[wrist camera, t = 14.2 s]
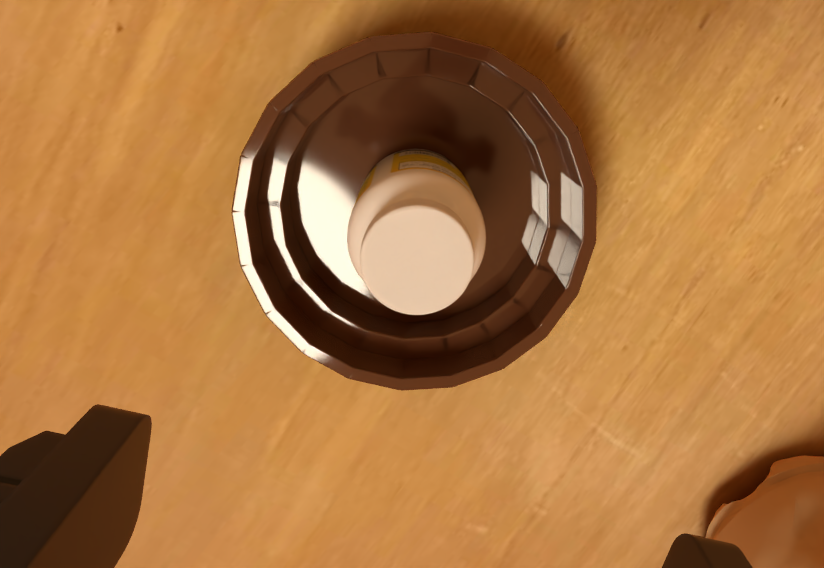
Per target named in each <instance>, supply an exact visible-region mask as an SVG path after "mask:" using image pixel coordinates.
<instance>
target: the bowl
mask: <svg viewBox="0 0 824 568" xmlns="http://www.w3.org/2000/svg"><path fill="white" fill-rule="evenodd" d="M407 149H424V150H429V151H433V152H435V153H438V154H440V155H442V156H444V157H446V158H447V159H448V160H450V161H451V162H452V163H453V164H454V165H455V166H456V167H457V168H458V169H459V170H460V171H461V173H462V174H463V175H464V177H465V178H466V180H467V182H468V184H469V186H470V189H471V191H472V193H473V195H474V197H475V199H476V202H477V204H478V206H479V208H480V210H481V213H482V216H483V219H484V224H485V230H486V245H485V251H484V256H483V259H482V262H481V264H480V267H479V268H478V270H477V272H476V274H475V275H474V277H473V278H472V279H471V281H470V282H469V284H468V286H467V288H466V289H465V291H464V292H463V293H462V295H461V296H460V297H459V298H458V299H457V300H456V301H455V302H453V303H452V304H451V305H449V306H448V307H446V308H444V309H442V310H439V311H437V312H434V313H430V314H425V315H409V314H404V313H400V312H397V311H394V310H392V309H390V308H388V307H386V306H385V305H383V304H382V303H381V302H379V301H378V300H377V299H376V298H375V297H374V296H373V295H372V293H371V292H370V291H369V289H368V288H367V286H366V284H365V282H364V281H363V280H362V279H361V277H360V276H359V275H358V273H357V272H356V270H355V268H354V266H353V264H352V261H351V258H350V255H349V251H348V244H347V231H348V224H349V219H350V216H351V212H352V210H353V207H354V205H355V202H356V200H357V197H358V195H359V192H360V190H361V187H362V185H363V182H364V180H365V179H366V177H367V175H368V174H369V172H370V171H371V170H372V169H373V167H374V166H375V165H376V164H377V163H379V162H380V161H381V160H382V159H384V158H385V157H387V156H389V155H391V154H393V153H396V152H398V151H402V150H407ZM241 154H242V155H241V156H240V162H239V168H238V174H237V180H236V186H235V192H234V198H233V205H232V218H233V224H234V230H235V236H236V243H237V249H238V255H239V261H240V265H241V268H242V270H243V272H244V274H245V276H246V278H247V280H248V282H249V284H250V286H251V288H252V290H253V292H254V294H255V296H256V298H257V300H258V302H259V304H260V306H261V308H262V309H263V311H264V313H265V314H266V316H267V317H268V318H269V319H270V320H271V321H272V322H273V323H274V324H275V325H276V326H277V327H278V328H279V329H280V330H281V331H282V333H283V334H284V335H285V336H286V337H287V338H288V339H289V340H290V341H291V342H292V343H293V344H294V345H295V346H296V347H297V348H298V349H299V350H300V351H301V352H303V354H305V355H307V356H308V357H310V358H312V359H314V360H316V361H317V362H319V363H321V364H323V365H325V366H326V367H328V368H330V369H332V370H334V371H335V372H337V373H339V374H341V375H343V376H344V377H346V378H348V379H352V380H357V381H361V382H366V383H370V384H375V385H379V386H383V387H388V388H392V389H397V390H416V389H432V388H448V387H455V386H457V385H460V384H463V383H466V382H469V381H471V380H474V379H477V378H480V377H482V376H485V375H488V374H491V373H494V372H496V371H499V370H502V368H503V369H504V368H505V367H506V366H508V365H509V364H511V363H512V362H513V361H515V360H516V359H517V358H519V357H520V356H521V355H523V354H524V353H525V352H527V351H528V350H530V349H531V348H532V347H534V346H535V345H536V344H538V343H539V342H540V341H542V340H543V339H544V338H545V337H547V335H548V334H549V333H550V331H551V330H552V329H553V327H554V326H555V325H556V323H557V322H558V321H559V319H560V318H561V316H562V315H563V314H564V312H565V311H566V310H567V308H568V307H569V306H570V304H571V303H572V302H573V300H574V299H575V298H576V296H577V295H578V293H579V290H580V287H581V284H582V281H583V278H584V275H585V272H586V270H587V267H588V264H589V261H590V258H591V255H592V252H593V249H594V246H595V243H596V242H595V241H596V210H597V186H596V181H595V178H594V175H593V172H592V169H591V166H590V163H589V160H588V157H587V154H586V150H585V147H584V144H583V141H582V138H581V135H580V132H579V130H578V128H577V126H576V125H575V124H574V122H573V121H572V120H571V118H570V117H569V116H568V115H567V113H566V112H565V111H564V109H563V108H562V107H561V105H560V104H559V103H558V101H557V100H556V99H555V97H554V96H553V95H552V93H551V92H550V91H549V89H548V88H547V87H546V85H545V84H544V83H543V82H542V81H541V80H540V79H538V78H537V77H535V76H534V75H532V74H531V73H529V72H528V71H526V70H525V69H523V68H522V67H520V66H519V65H517V64H516V63H514V62H513V61H511V60H510V59H508V58H507V57H505V56H504V55H502V54H501V53H499V52H498V51H496V50H495V49H493V48H491V47H488V46H484V45H481V44H477V43H473V42H469V41H465V40H461V39H458V38H454V37H450V36H446V35H442V34H439V33H435V32H432V33H431V32H420V33H408V34H395V35H383V36H371V37H370V38H369V37H367V38H365V39H362V40H360V41H358V42H356V43H353V44H351V45H349V46H347V47H344V48H342V49H340V50H337V51H335V52H333V53H331V54H328V55H326V56H324V57H322V58H319V59H317V60H315V61H314V62H312V63H310V64H309V65H308V66H307V67H306V68H305V69H304V70H303V71H302V72H301V73H300V74H299V75H297V76H296V77H295V78H294V79H293V80H292V81H291V82H290V83H289V84H288V85H287V86H286V87H285V88H283V89H282V90H281V91H280V92H279V93H278V94H277V95H276V96H275V97H274V98H273V99H272V100H271V101H270V102H269V103H268V104H267V106H266V108H265V110H264V112H263V113H262V115H261V117H260V119H259V121H258V123H257V125H256V127H255V128H254V130H253V132H252V134H251V136H250V138H249V140H248V142H247V144H246V145H245V147H244V149H243V151H242V153H241Z"/></svg>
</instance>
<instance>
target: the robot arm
mask: <svg viewBox="0 0 824 568" xmlns="http://www.w3.org/2000/svg"><path fill="white" fill-rule="evenodd" d="M151 424H152V423H151V417H150V416H149V415H145V414H140V413H136V412H131V411H126V410H122V409H117V408H113V407H108V406H103V405H99V404H97V405H95V406H93V407H92V408H91V409H90V410H89V411H88V412H87V413H86V414H85V415H84V416H83V417H82V418H81V419H80V420H79V421H78V422H77V423H76V424H75V425H74V427H73V428H72V429H71V430H70V431H69V432H68V433H67V434H66V435H64V434H59V433H55V432H50V431H44V432H42V433H40V434H38V435H36V436H34V437H31V438H29V439H27V440H25V441H23V442H21V443H19V444H16V445H14V446H12V447H10V448H8V449H7V450H6V451H5V452H4V453H3V454H2V455H1V456H0V568H114V567H115V565H116V564H117V562H118V560H119V559H120V557H121V555H122V554H123V552H124V550H125V548H126V547H127V545H128V543H129V540H130V538H131V536H132V533H133V531H134V528H135V525H136V522H137V518H138V515H139V511H140V506H141V500H142V493H143V486H144V478H145V471H146V464H147V457H148V450H149V443H150V435H151ZM662 568H753V567H752V566H751V564H750V563H749V561H748V560H747V558H746V557H745V555H744V554H743V552H742V551H741V550H740V548H739V547H737V546H736V545H734V544H732V543H728V542H723V541H718V540H714V539H709V538H705V537H700V536H695V535H691V534H681V535H679V536H678V537H677V538H676V539H675V541H674V542H673V544H672V546H671V548H670V551H669V553H668V555H667V557H666V560H665V562H664V564H663V566H662Z"/></svg>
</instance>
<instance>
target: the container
mask: <svg viewBox="0 0 824 568" xmlns="http://www.w3.org/2000/svg"><path fill="white" fill-rule="evenodd" d="M706 538H709V539H714V540H718V541H723V542H728V543H732V544H734V545H736V546H737V547H739V548H740V550H741V551H742V552H743V554H744V555H745V557H746V558H747V560H748V561H749V563H750V564H751V566H752V567H753V568H824V456H805V455H803V456H797V457H792V458H787V459H782V460H779V461H776V462H774V463H773V464H772V466H771V468H770V473H769V475H768V476H767V478H766V479H765V480H764V481H763V482H762V483H761V484H760V485H759V486H758V487H757V489H756V490H755V491H754V492H753V493H752V494H750V495H749V496H747V497H745V498H744V499H742V500H738V501H733V502H731V503H729V504H724V503H723V504H722V505H721V506H720V508H719V509H718V510H717V511H716V513H715V515H714V517H713V519H712V521H711V523H710V525H709V527H708V530H707V534H706Z"/></svg>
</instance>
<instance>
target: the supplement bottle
mask: <svg viewBox="0 0 824 568" xmlns="http://www.w3.org/2000/svg"><path fill="white" fill-rule="evenodd" d="M347 244H348V251H349V255H350V258H351V261H352V264H353V266H354V268H355V270H356V272H357V273H358V275H359V276H360V277H361V279H362V280H363V281H364V282H365V284H366V286H367V288H368V289H369V291H370V292H371V293H372V295H373V296H374V297H375V298H376V299H377V300H378V301H379V302H381V303H382V304H383V305H385V306H386V307H388V308H390V309H392V310H394V311H397V312H400V313H404V314H409V315H425V314H430V313H434V312H437V311H439V310H442V309H444V308H446V307H448V306H449V305H451V304H452V303H453V302H455V301H456V300H457V299H458V298H459V297H460V296H461V295H462V293H463V292H464V291H465V289H466V288H467V286H468V284H469V282H470V281H471V279H472V278H473V277H474V275H475V274H476V272H477V270H478V268H479V267H480V264H481V262H482V259H483V256H484V251H485V245H486V230H485V224H484V219H483V216H482V213H481V210H480V208H479V206H478V204H477V202H476V199H475V197H474V195H473V193H472V191H471V189H470V186H469V184H468V182H467V180H466V178H465V177H464V175H463V174H462V173H461V171H460V170H459V169H458V168H457V167H456V166H455V165H454V164H453V163H452V162H451V161H450V160H448V159H447V158H446V157H444V156H442V155H440V154H438V153H435V152H433V151H429V150H424V149H407V150H402V151H398V152H396V153H393V154H391V155H389V156H387V157H385V158H384V159H382V160H381V161H380V162H379V163H377V164H376V165H375V166H374V167H373V169H372V170H371V171H370V172H369V174H368V175H367V177H366V179H365V180H364V182H363V185H362V187H361V190H360V192H359V195H358V197H357V200H356V202H355V205H354V207H353V210H352V212H351V216H350V219H349V224H348V231H347Z"/></svg>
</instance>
